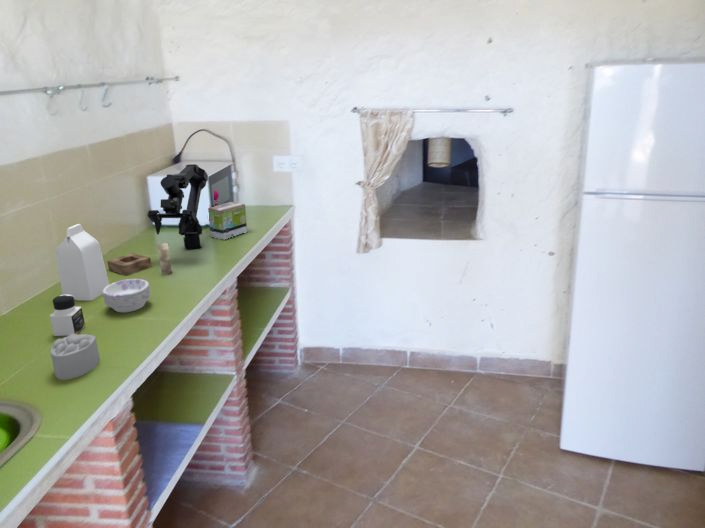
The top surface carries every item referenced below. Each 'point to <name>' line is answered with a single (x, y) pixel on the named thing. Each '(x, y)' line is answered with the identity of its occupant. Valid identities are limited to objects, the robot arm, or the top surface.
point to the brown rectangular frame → (129, 264)
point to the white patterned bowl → (127, 295)
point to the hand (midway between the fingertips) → (168, 234)
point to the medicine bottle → (66, 316)
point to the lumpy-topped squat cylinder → (74, 355)
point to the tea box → (227, 220)
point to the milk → (81, 265)
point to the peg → (164, 258)
